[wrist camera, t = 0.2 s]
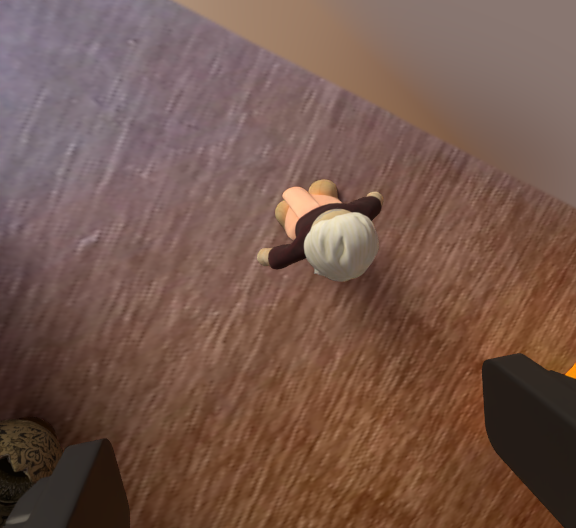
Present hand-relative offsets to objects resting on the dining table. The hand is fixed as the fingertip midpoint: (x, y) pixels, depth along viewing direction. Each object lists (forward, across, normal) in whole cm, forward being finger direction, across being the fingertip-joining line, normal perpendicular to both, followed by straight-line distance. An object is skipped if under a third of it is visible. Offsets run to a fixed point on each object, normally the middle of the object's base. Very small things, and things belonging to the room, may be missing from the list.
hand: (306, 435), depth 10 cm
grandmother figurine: (+23, -4, -1) cm, 23 cm away
